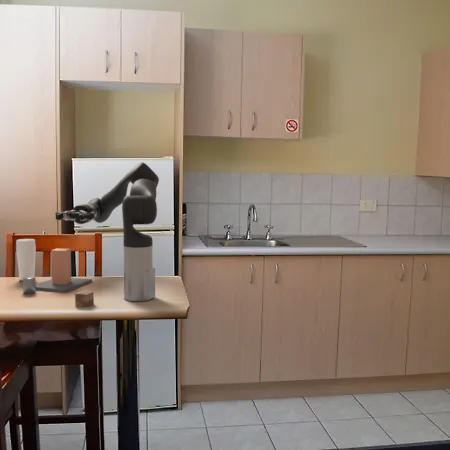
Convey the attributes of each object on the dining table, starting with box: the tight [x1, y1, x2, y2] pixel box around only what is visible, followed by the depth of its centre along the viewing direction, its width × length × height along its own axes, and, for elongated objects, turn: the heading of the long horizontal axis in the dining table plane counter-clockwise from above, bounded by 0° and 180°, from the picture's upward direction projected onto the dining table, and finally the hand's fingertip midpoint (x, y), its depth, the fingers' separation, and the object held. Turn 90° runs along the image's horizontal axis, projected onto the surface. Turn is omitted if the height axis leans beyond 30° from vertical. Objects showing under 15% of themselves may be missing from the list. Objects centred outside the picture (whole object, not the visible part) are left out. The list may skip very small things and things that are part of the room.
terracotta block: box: [51, 247, 72, 284], centre depth 194 cm, size 5×5×12 cm
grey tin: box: [22, 276, 37, 295], centre depth 183 cm, size 4×4×5 cm
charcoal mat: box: [36, 277, 93, 293], centre depth 195 cm, size 14×18×1 cm
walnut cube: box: [74, 290, 95, 308], centre depth 168 cm, size 4×4×4 cm
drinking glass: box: [15, 238, 37, 282], centre depth 204 cm, size 7×7×15 cm
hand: (68, 217), depth 200 cm, fingers open, 8 cm apart
